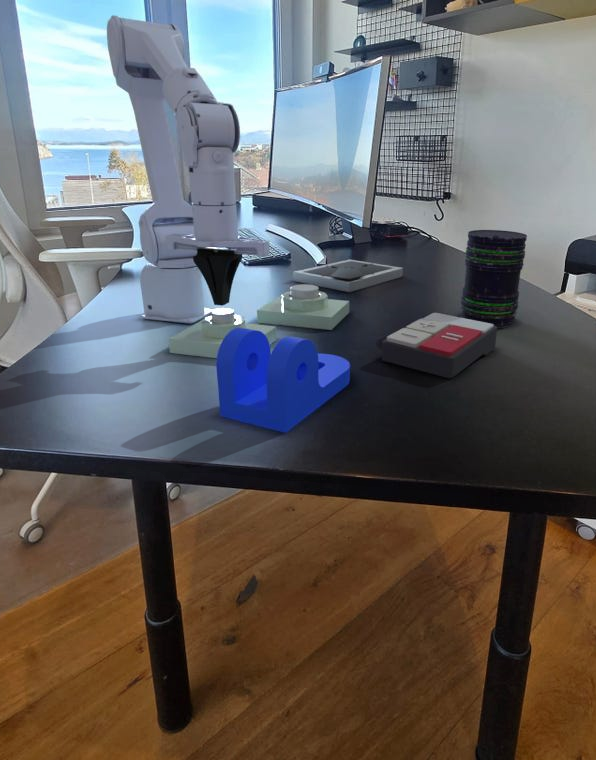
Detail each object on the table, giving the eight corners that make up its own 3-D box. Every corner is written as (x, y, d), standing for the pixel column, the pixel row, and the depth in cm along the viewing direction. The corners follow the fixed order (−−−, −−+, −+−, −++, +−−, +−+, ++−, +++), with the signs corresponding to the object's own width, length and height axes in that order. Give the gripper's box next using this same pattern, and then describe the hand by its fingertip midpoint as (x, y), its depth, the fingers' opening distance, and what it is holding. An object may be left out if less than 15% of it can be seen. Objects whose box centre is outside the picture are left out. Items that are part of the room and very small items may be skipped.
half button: (207, 324, 78) (206, 313, 77) (218, 318, 81) (217, 307, 80) (228, 327, 77) (227, 315, 76) (238, 320, 80) (237, 309, 79)
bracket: (285, 433, 56) (282, 350, 53) (220, 416, 59) (213, 337, 56) (360, 375, 71) (361, 308, 68) (305, 364, 74) (304, 299, 71)
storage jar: (462, 310, 103) (470, 228, 97) (516, 315, 100) (527, 232, 94) (456, 324, 94) (464, 235, 88) (514, 330, 91) (527, 239, 86)
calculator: (380, 335, 75) (433, 308, 86) (380, 364, 77) (431, 334, 88) (452, 353, 69) (498, 321, 80) (450, 383, 71) (496, 348, 82)
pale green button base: (169, 353, 77) (166, 325, 76) (205, 332, 86) (202, 307, 84) (248, 362, 75) (246, 334, 73) (276, 340, 84) (275, 314, 82)
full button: (286, 299, 92) (286, 289, 92) (296, 293, 97) (296, 283, 96) (313, 302, 91) (313, 291, 91) (322, 295, 96) (322, 285, 95)
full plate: (257, 322, 92) (256, 299, 90) (281, 306, 102) (281, 285, 100) (331, 330, 89) (331, 306, 87) (349, 312, 99) (349, 291, 97)
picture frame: (349, 292, 113) (402, 276, 129) (349, 278, 112) (403, 264, 128) (293, 281, 121) (349, 267, 137) (292, 268, 120) (349, 256, 136)
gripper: (147, 203, 70) (160, 305, 76) (252, 209, 68) (257, 315, 73) (177, 199, 77) (187, 294, 82) (274, 205, 74) (277, 302, 79)
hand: (221, 303), depth 78 cm, fingers closed
